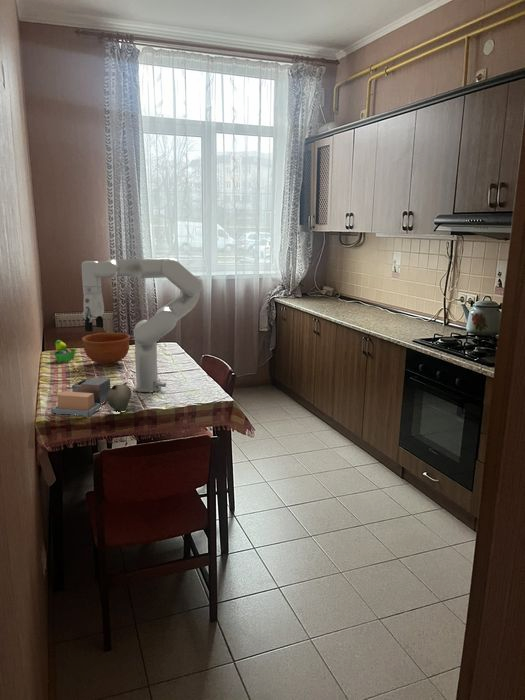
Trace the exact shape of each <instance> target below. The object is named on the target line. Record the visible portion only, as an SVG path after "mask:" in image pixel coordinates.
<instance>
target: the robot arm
mask: <svg viewBox="0 0 525 700" xmlns="http://www.w3.org/2000/svg"><path fill="white" fill-rule="evenodd" d="M115 277H133V278H134V277H136V278H139V279H157V278H158V279H161V278H162V279H163V278H164V279H165V278H166V279H167V280H168V281H169V282H171V284H173V285H174V287H176V288H178V290H180V293H179V295H178V296H176V297H175V298H173V299H172V300H171V301H169V302H168V303H167V304H165V305H164V306H161V307H159V308H158V309H157V310H156V312H155V314H154V315H153V316H151V317H150V318H148V319H141V320H140V321H138V322H137V323H136V324H135V326H134V328H133V338H134V351H135V352H134V354H135V355H134V356H135V357H134V358H135V361H134V362H135V379H136V381H135V383H136V384H135V385H133V387H132V390H133V389H134V390H135V391H134V390H133V391H134V392H136V391H139V392H138V393H141V392H149V393H152V392H151V391H155V392H157V391H156V390H158V391H160V390H161V389H162V388H166V387H167V383H166V381H161V379H160V378H159V377H158V375H159V374H158V349H157V348H158V346H157V345H158V343H157V341H158V340H160V339H161V338H162V337H164V336H165V335H167V334H168V333H170V332H171V331H172V330H174V328H175V327H176V325H177V323H178V322H177V321H179V320H181V318H183V317H184V316H186V315H187V314H188V313H189V312H191V311H192V310H193V309H195V307H196V306H197V303H198V302H199V299H200V295H201V291H202V288H203V287H202V282H201V280H200V279H199V278H198V277H197V276H196V275H194V274H193V273H192V272H190V271H189V270H188V269H187V268H186V267H185V266H183V265H182V264H181V263H180V262H179V260H178V259H176V258H174V257H155V258H154V257H153V258H151V257H150V258H148V257H146V258H143V257H142V258H134V259H133V258H128V259H124V258H123V259H119V258H118V259H107V260H104V261H97V260H85V261H82V263H81V278H82V293H83V311H82V319H83V322H84V331H85V332H88V333H89V332H94V331H93V329H94V328H93V322H92V321H93V318H95V326H96V327H95V328H100V329H101V328H104V314H105V304H104V298H103V293H102V279H107V280H109V279H110V280H112V279H114V278H115ZM159 389H160V390H159Z"/></svg>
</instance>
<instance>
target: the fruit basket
mask: <svg viewBox="0 0 525 700" xmlns="http://www.w3.org/2000/svg"><path fill="white" fill-rule="evenodd" d="M55 349H56V351H55V352H53V355H54V357H55V359H56V360H55V361H56V362H57V363H67V362H70V361H72V360H74V359H75V354H76V351H77V349H76V348H67V344H66V343H65V342H63V341H62V340H60V339H57V340H56V341H55ZM73 358H74V359H73ZM71 359H72V360H71Z"/></svg>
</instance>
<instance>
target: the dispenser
mask: <svg viewBox="0 0 525 700" xmlns="http://www.w3.org/2000/svg"><path fill="white" fill-rule="evenodd" d="M111 388H112V386H111V378H107V377H105V378H104V377H91V378H90V379H88V378H83V379H82V380H80V381H78V382H76V383H74V384H73V385H72V386H71V390H72V391H71V392H82V393H94V403H99V404H101V403H103V402H104V401H106V395H107V393H108V391H109V390H110V389H111ZM106 402H107V401H106ZM103 404H104V403H103Z"/></svg>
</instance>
